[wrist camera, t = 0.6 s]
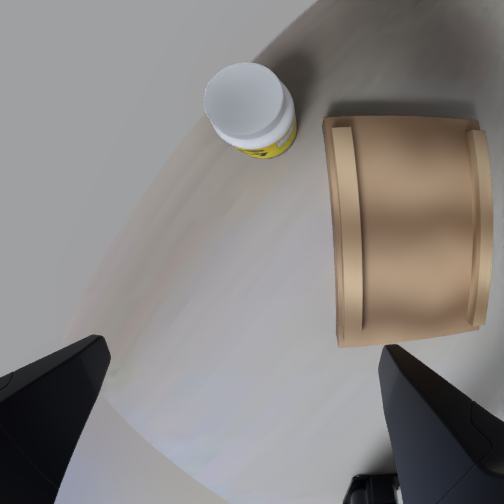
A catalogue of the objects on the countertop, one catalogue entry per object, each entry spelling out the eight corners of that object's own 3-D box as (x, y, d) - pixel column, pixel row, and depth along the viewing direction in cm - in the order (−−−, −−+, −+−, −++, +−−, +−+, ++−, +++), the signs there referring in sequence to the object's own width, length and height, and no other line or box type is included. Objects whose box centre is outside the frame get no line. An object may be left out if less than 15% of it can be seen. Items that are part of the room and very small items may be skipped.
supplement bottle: (222, 141, 22) (177, 117, 14) (253, 90, 21) (225, 42, 13) (277, 172, 22) (259, 159, 14) (309, 118, 21) (309, 78, 12)
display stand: (466, 318, 21) (485, 335, 17) (336, 333, 23) (339, 355, 20) (463, 126, 18) (486, 117, 15) (322, 125, 20) (324, 112, 17)
